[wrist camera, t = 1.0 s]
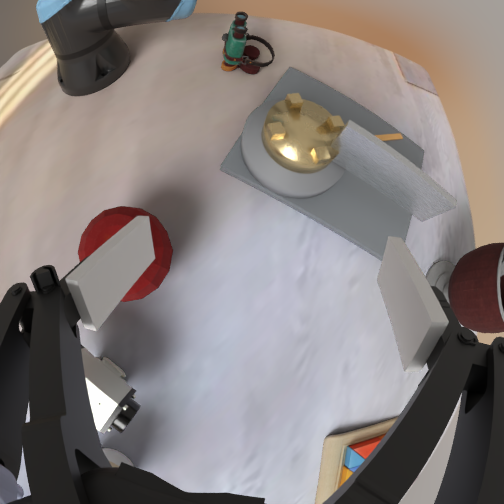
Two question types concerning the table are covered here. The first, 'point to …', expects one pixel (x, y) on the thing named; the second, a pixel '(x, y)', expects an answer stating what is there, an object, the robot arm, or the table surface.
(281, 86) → the grey flat slab
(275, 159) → the two-tone lugged fixture
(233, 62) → the binoculars
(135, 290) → the apple
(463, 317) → the mate gourd
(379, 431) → the wooden puzzle
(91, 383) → the pneumatic valve
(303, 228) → the table surface
